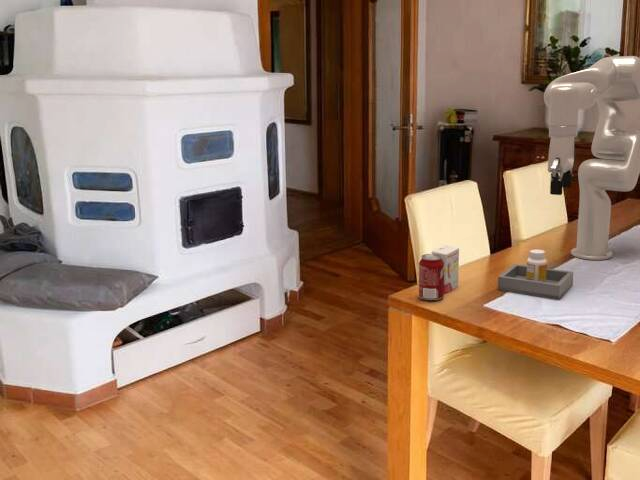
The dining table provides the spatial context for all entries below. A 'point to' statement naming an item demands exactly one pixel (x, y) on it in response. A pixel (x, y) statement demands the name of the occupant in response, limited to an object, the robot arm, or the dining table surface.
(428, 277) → the soda can
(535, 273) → the pill bottle
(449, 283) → the ink box
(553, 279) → the tray
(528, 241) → the dining table surface
